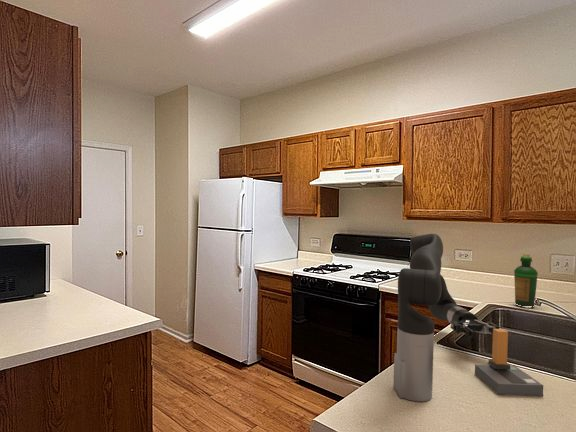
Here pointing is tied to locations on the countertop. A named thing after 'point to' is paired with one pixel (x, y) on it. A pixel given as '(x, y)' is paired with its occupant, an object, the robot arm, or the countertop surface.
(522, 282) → the bottle
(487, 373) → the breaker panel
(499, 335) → the handle
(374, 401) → the countertop surface
